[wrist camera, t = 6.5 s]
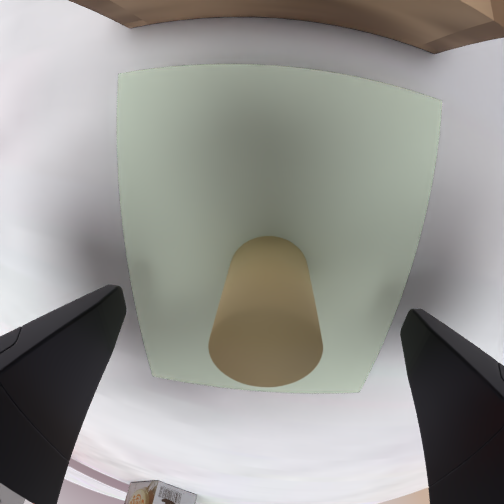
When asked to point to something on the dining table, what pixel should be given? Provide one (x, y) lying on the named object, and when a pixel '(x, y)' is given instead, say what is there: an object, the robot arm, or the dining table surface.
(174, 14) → the box
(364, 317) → the lid
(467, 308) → the dining table surface
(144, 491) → the coffee box
